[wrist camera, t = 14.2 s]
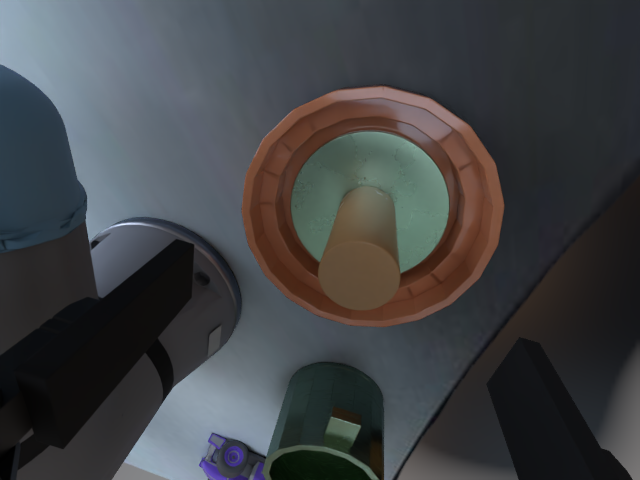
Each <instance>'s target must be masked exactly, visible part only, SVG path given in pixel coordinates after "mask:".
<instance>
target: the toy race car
mask: <svg viewBox="0 0 640 480" xmlns="http://www.w3.org/2000/svg"><path fill="white" fill-rule="evenodd" d="M225 441H226V439H224V438H222V437H220V436H217V435H215V434H212V435H211V436H210V438H209V440H208V442H209V443H211V446H210V448H209V451H208V453H207V456H206V459H205V458H203V459H202V460H201V462H200V464H199V466H200V467H201V468H203V470H204V472H205V474H206V476H207V477H208V480H265V478H264V475H263V472H262V471H263V467H264V463H265V458H263V457H261V456H259V455H256V454H254V453H252V452H249V451H248V449H247V447H246V446H245V445H244V444H243V443H242V442H240V441H235V440H234V441H229V442H227V443H226V444H224V443H225ZM223 444H224V445H223ZM222 446H223V447H222ZM221 447H222V448H221ZM216 448H217V449H218V450H220V449H221V450H220V452H219V454H218V457H217V462H216V463H214V462H212V457H213V454H214V452H215V449H216Z"/></svg>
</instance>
